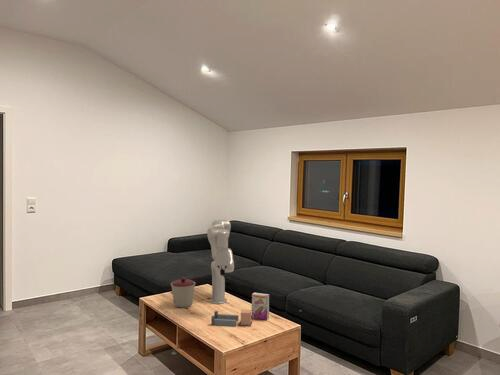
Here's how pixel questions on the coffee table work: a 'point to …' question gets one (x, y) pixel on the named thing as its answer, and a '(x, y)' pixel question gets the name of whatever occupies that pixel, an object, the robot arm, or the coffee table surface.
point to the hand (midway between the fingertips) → (222, 275)
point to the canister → (183, 292)
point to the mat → (245, 325)
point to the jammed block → (245, 317)
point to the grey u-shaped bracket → (224, 319)
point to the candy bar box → (260, 306)
